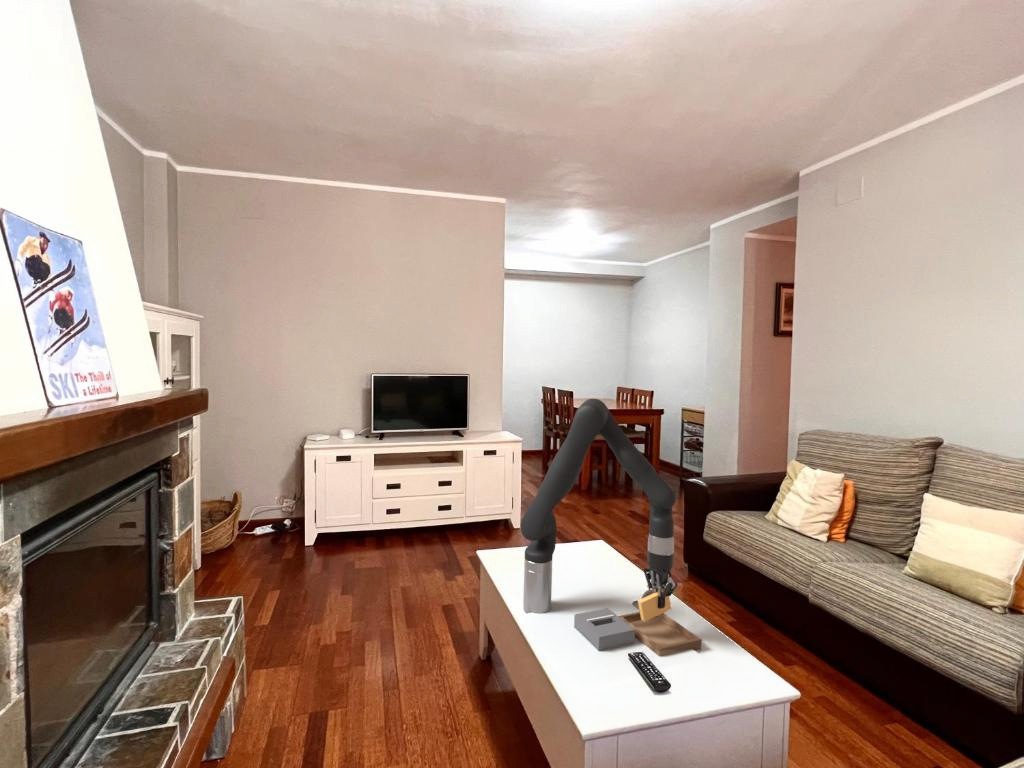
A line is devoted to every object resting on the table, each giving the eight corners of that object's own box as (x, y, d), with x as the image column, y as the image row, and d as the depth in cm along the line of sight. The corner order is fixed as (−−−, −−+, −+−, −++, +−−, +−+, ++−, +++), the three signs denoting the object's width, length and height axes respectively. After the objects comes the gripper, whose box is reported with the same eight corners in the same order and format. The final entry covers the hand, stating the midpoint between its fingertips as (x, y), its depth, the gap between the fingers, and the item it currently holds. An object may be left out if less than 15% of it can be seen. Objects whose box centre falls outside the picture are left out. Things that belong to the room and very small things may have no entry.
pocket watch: (635, 601, 176) (636, 573, 176) (659, 608, 172) (660, 578, 171) (627, 611, 169) (628, 581, 169) (653, 618, 165) (654, 587, 164)
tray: (617, 625, 159) (618, 616, 159) (656, 617, 165) (657, 608, 165) (659, 659, 141) (659, 649, 141) (701, 649, 147) (701, 639, 146)
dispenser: (574, 630, 156) (574, 613, 155) (607, 623, 160) (607, 606, 160) (598, 654, 143) (599, 635, 143) (634, 646, 147) (634, 628, 147)
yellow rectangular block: (637, 600, 151) (664, 588, 154) (641, 619, 151) (667, 606, 155) (641, 602, 149) (668, 590, 153) (644, 621, 150) (671, 608, 153)
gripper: (636, 543, 157) (634, 598, 157) (665, 559, 144) (663, 619, 145) (656, 540, 160) (654, 595, 160) (686, 555, 147) (684, 614, 148)
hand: (658, 606), depth 153 cm, fingers closed on yellow rectangular block, 1 cm apart
